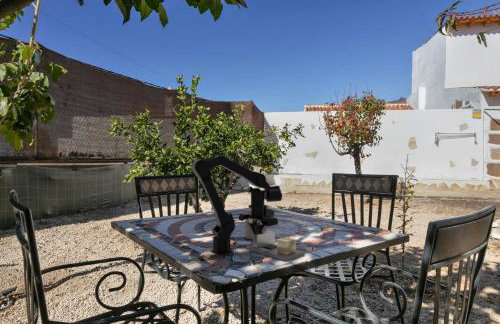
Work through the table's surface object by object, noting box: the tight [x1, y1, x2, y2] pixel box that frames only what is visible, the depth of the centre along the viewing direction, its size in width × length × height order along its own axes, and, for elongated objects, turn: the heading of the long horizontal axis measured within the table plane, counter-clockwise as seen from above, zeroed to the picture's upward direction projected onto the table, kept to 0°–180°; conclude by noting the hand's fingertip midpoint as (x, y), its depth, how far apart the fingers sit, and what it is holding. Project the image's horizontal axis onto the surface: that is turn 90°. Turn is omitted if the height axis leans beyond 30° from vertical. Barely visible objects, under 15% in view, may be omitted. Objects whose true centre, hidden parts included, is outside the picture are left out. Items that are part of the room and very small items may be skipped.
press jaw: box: [251, 230, 276, 248], centre depth 149 cm, size 10×3×5 cm, turn 132°
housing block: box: [276, 236, 297, 255], centre depth 140 cm, size 5×5×5 cm
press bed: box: [245, 243, 306, 262], centre depth 145 cm, size 11×22×2 cm, turn 42°
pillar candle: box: [244, 207, 267, 240], centre depth 171 cm, size 10×10×15 cm
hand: (257, 239), depth 152 cm, fingers closed
